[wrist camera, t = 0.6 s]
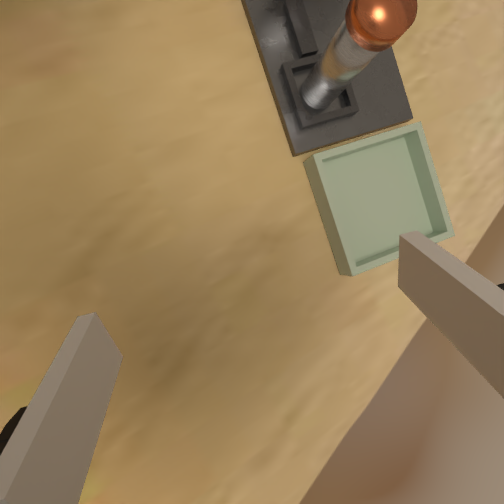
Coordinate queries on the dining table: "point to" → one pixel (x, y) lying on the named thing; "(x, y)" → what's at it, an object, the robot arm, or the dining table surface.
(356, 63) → the copper-capped metal cylinder
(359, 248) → the tray
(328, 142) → the pulley plate
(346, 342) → the dining table surface
